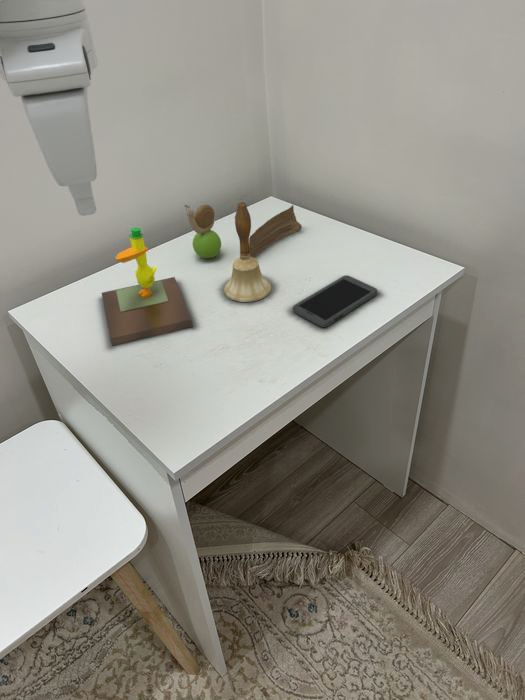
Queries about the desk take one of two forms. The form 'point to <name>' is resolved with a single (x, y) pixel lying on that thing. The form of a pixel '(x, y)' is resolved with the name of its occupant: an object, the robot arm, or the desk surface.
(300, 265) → the desk surface
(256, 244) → the wood plank
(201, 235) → the snail figurine
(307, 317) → the cell phone
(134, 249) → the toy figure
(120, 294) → the board
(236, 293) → the hand bell
